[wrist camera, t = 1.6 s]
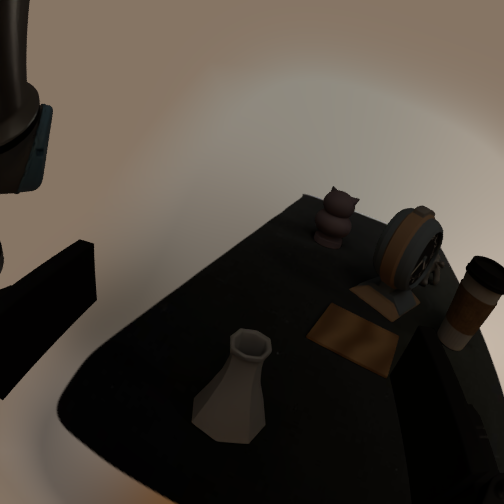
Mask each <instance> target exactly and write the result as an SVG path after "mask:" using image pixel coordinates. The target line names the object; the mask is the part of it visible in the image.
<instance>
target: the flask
mask: <svg viewBox="0 0 504 504" xmlns="http://www.w3.org/2000/svg"><path fill="white" fill-rule="evenodd" d="M271 351H272V349H271V341H270V338H268V337H266V336H265V335H263V334H262V333H260V332H258V331H256V330H249V329H239V330H238V331H237V332H235V333H234V334H233V335H232V336H231V337H230V356H229V357H228V359H227V361H226V363H225V365H224V366H223V368H222V369H221V371H220V372H219V373H218V374H217V375H216V376H215V377H214V378H213V379H212V380H211V382H210V383H209V384H208V385H207V386H206V387H205V388H204V389H203V390H202V391H200V392H199V393H198V394H197V395H196V397H195V398H194V402H193V413H192V423H193V424H194V425H195V426H197V427H198V428H199V429H201V430H202V431H203V432H205V433H206V434H207V435H209V436H210V437H211V438H213V439H214V440H215V441H219V442H230V443H243V444H249V443H250V442H251V440H252V439H253V438H254V437H255V436H256V435H257V434H258V433H259V431H260V430H261V429H262V428H263V427H264V426H265V414H264V402H263V395H262V389H261V383H260V378H261V369H262V365H263V362H264V360H265V359H266V358H267V357H268V356H269V355H270V353H271Z"/></svg>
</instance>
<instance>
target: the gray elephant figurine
mask: <svg viewBox="0 0 504 504" xmlns="http://www.w3.org/2000/svg"><path fill="white" fill-rule="evenodd" d="M440 257H441V256H440V255H439V254H438V255H437V257H436V259H435V261H434V263H433V265H432V267H431V268H430V270H429V271H428V273H427V274H426V276H425V277H424V278H423V280H422V281H421V282H420V284H421V285H422V286H426V285H427V284H428V277H429V273H430V272H431V273H433V284H434V285H436V284H438V282H439V278H440V267H441V268H443V267H444V266H445V265H444V262H440V261H439V260H440Z"/></svg>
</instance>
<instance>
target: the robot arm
mask: <svg viewBox="0 0 504 504" xmlns="http://www.w3.org/2000/svg"><path fill="white" fill-rule="evenodd" d="M29 1H30V0H0V194H8V193H15V194H19V193H20V192H27V191H34V190H36V189H37V188H38V187H39V186H40V185H41V183H42V180H43V174H44V168H45V161H46V154H47V147H48V141H49V134H50V128H51V121H52V114H53V109H52V107H51V106H49V105H46V104H41V105H40V103H39V95H38V92H37V90H36V89H35V88H34V87H33V86H32V85H31V84H30V83H28V82H27V76H26V75H27V74H26V47H27V45H26V44H27V24H28V11H29ZM96 300H97V295H96V281H95V263H94V244H93V243H90V242H87V241H84V240H78V241H76V242H75V243H73V244H72V245H70V246H69V247H67V248H66V249H64V250H63V251H61V252H59V253H58V254H57V255H55V256H53V257H52V258H51V259H49V260H47V261H46V262H45V263H43V264H42V265H40V266H39V267H37V268H36V269H34V270H33V271H32V272H30V273H29V274H27V275H26V276H24V277H23V278H22V279H20V280H19V281H18V282H16V283H15V284H13V285H12V286H11V285H10V286H8V287H6V288H3V289H0V399H2V400H4V398H5V397H6V396H7V395H8V394H9V393H10V391H11V390H12V389H13V388H14V387H15V386H16V384H17V383H18V382H19V381H20V380H21V379H22V378H23V377H24V376H25V374H26V373H27V372H28V371H29V370H30V369H31V368H32V367H33V366H34V364H35V363H36V362H37V361H38V360H39V359H40V358H41V357H42V356H43V355H44V354H45V353H46V351H47V350H48V349H49V348H50V347H51V346H52V345H53V344H54V343H55V342H56V341H57V340H58V339H59V338H60V337H61V336H62V335H63V334H64V333H65V331H66V330H67V329H68V328H69V327H70V326H71V325H72V324H73V323H74V322H75V321H76V320H77V319H78V318H79V317H80V316H81V315H82V314H83V313H84V312H85V311H86V310H87V309H88V308H89V307H90V306H91V305H92V304H93V303H94V302H95V301H96ZM390 380H391V384H392V388H393V393H394V397H395V402H396V407H397V412H398V417H399V422H400V427H401V433H402V438H403V444H404V450H405V456H406V462H407V469H408V476H409V483H410V491H411V500H412V504H504V473H499V470H498V467H497V464H496V461H495V458H494V455H493V451H492V448H491V445H490V443H489V440H488V439H487V434H486V431H485V429H483V428H484V426H483V423H482V420H481V418H480V415H479V414H478V413H477V411H476V410H475V409H474V407H473V406H472V405H471V404H467V402H466V399H465V397H464V394H463V392H462V389H461V387H460V384H459V382H458V380H457V377H456V375H455V373H454V370H453V368H452V366H451V363H450V361H449V359H448V357H447V355H446V352H445V350H444V348H443V346H442V344H441V342H440V340H439V338H438V336H437V333H436V331H435V329H434V328H429V327H424V326H418V328H417V330H416V332H415V333H414V335H413V337H412V339H411V341H410V342H409V344H408V346H407V348H406V349H405V351H404V353H403V354H402V356H401V358H400V360H399V361H398V363H397V364H396V366H395V368H394V369H393V371H392V373H391V374H390Z"/></svg>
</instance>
